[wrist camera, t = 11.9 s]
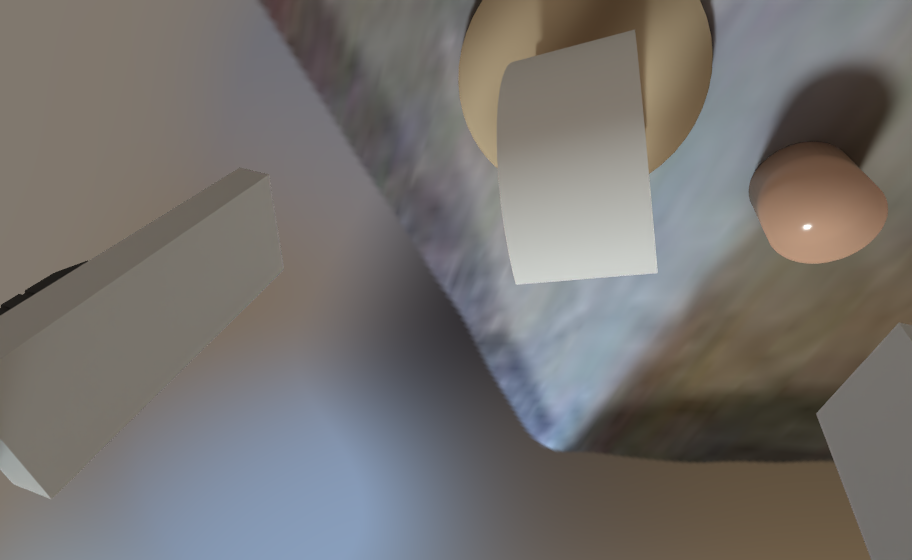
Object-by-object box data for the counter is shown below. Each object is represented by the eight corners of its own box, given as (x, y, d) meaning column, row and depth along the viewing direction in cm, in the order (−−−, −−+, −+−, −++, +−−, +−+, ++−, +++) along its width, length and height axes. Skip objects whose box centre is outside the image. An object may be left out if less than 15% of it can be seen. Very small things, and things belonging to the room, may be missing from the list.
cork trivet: (759, -45, 20) (764, -44, 19) (656, 210, 27) (657, 217, 26) (476, -80, 21) (472, -80, 21) (452, 168, 29) (449, 173, 28)
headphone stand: (552, 155, 26) (515, 284, 17) (530, 35, 23) (469, 113, 14) (644, 138, 24) (658, 273, 15) (633, 7, 21) (642, 73, 12)
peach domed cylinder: (873, 150, 23) (913, 187, 20) (821, 229, 25) (848, 272, 22) (774, 133, 23) (797, 166, 20) (733, 212, 26) (749, 251, 23)
